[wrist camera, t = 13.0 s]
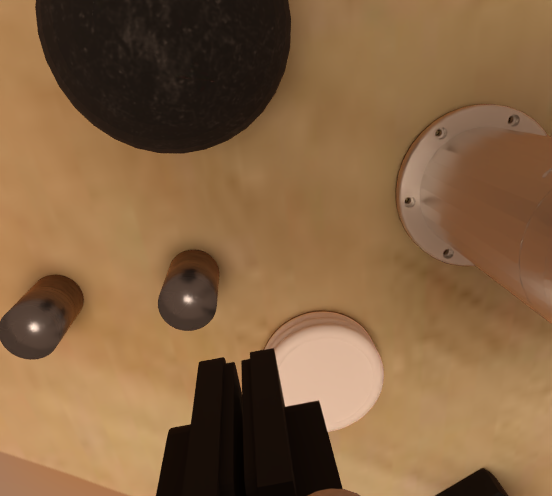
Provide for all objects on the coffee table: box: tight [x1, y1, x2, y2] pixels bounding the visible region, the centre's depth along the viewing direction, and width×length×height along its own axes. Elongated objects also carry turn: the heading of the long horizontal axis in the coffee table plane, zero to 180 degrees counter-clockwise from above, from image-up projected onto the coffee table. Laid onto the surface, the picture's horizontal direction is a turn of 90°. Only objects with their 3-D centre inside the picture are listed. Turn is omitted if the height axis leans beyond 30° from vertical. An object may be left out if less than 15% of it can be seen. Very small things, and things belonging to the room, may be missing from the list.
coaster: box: [264, 311, 384, 432], centre depth 43 cm, size 10×10×4 cm
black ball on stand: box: [35, 0, 291, 153], centre depth 29 cm, size 13×13×15 cm
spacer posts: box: [0, 250, 219, 359], centre depth 41 cm, size 17×22×6 cm
